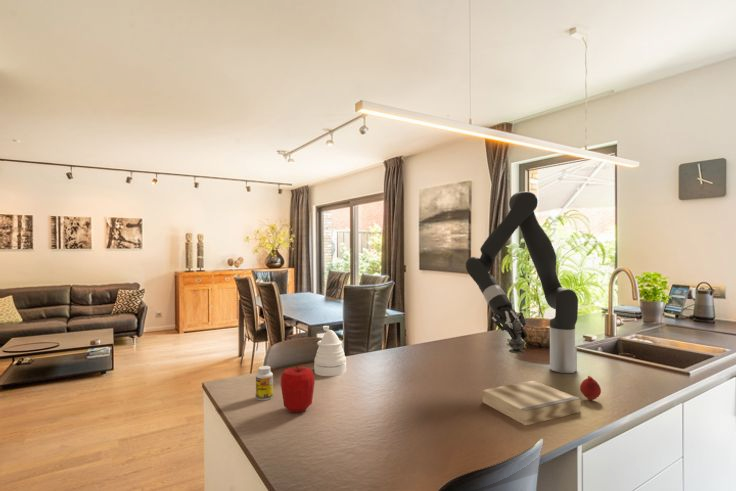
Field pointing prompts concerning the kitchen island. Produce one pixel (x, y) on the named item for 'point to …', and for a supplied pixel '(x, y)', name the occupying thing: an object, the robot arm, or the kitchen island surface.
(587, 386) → the onion
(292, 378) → the apple
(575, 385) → the kitchen island surface
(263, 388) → the supplement bottle
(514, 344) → the dark grey chess piece
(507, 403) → the platform
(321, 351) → the honey pot
